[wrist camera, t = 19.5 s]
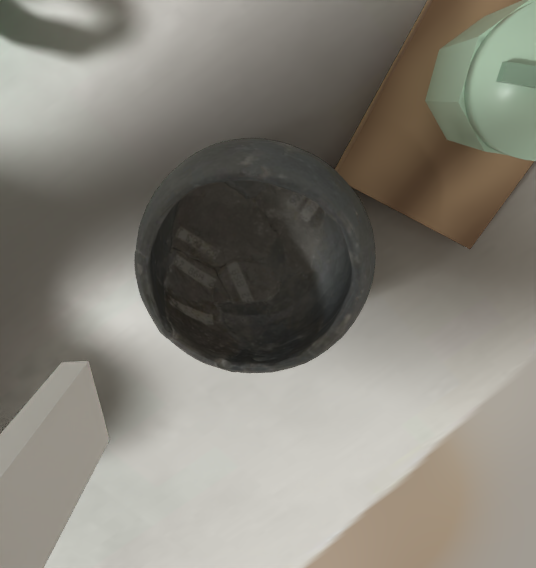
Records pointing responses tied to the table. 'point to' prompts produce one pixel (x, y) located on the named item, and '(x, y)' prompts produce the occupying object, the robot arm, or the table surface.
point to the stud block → (428, 138)
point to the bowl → (254, 256)
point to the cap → (490, 84)
